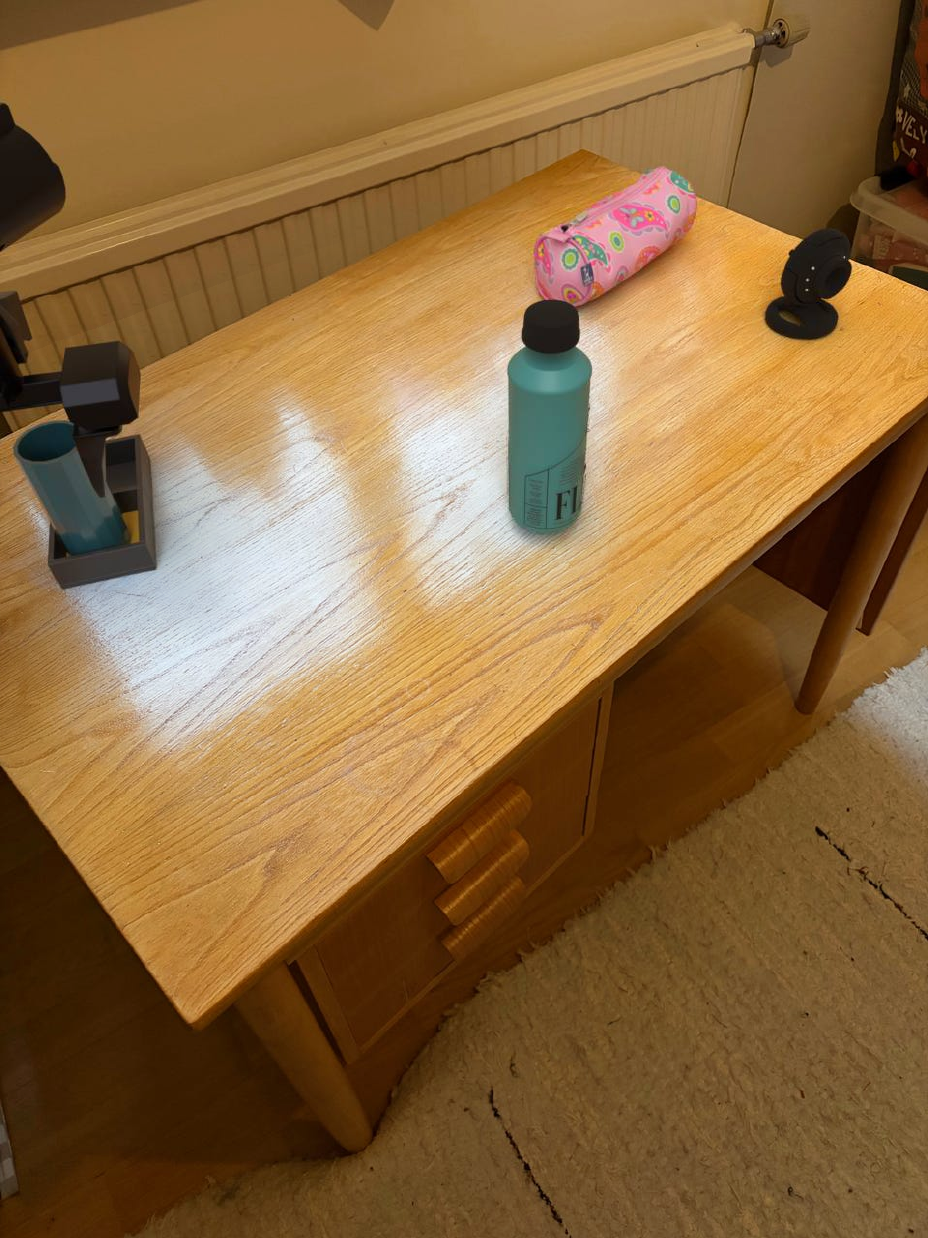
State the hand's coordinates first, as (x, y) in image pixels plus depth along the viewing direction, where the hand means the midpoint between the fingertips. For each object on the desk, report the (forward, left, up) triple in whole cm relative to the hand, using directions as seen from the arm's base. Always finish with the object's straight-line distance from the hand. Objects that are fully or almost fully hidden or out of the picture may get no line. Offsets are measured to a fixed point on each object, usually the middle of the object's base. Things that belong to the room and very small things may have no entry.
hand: (35, 504), depth 61 cm
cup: (-5, +7, -12) cm, 14 cm away
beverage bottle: (+29, +24, -13) cm, 40 cm away
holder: (-7, +10, -12) cm, 17 cm away
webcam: (+44, +63, -13) cm, 78 cm away
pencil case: (+22, +66, -13) cm, 70 cm away
